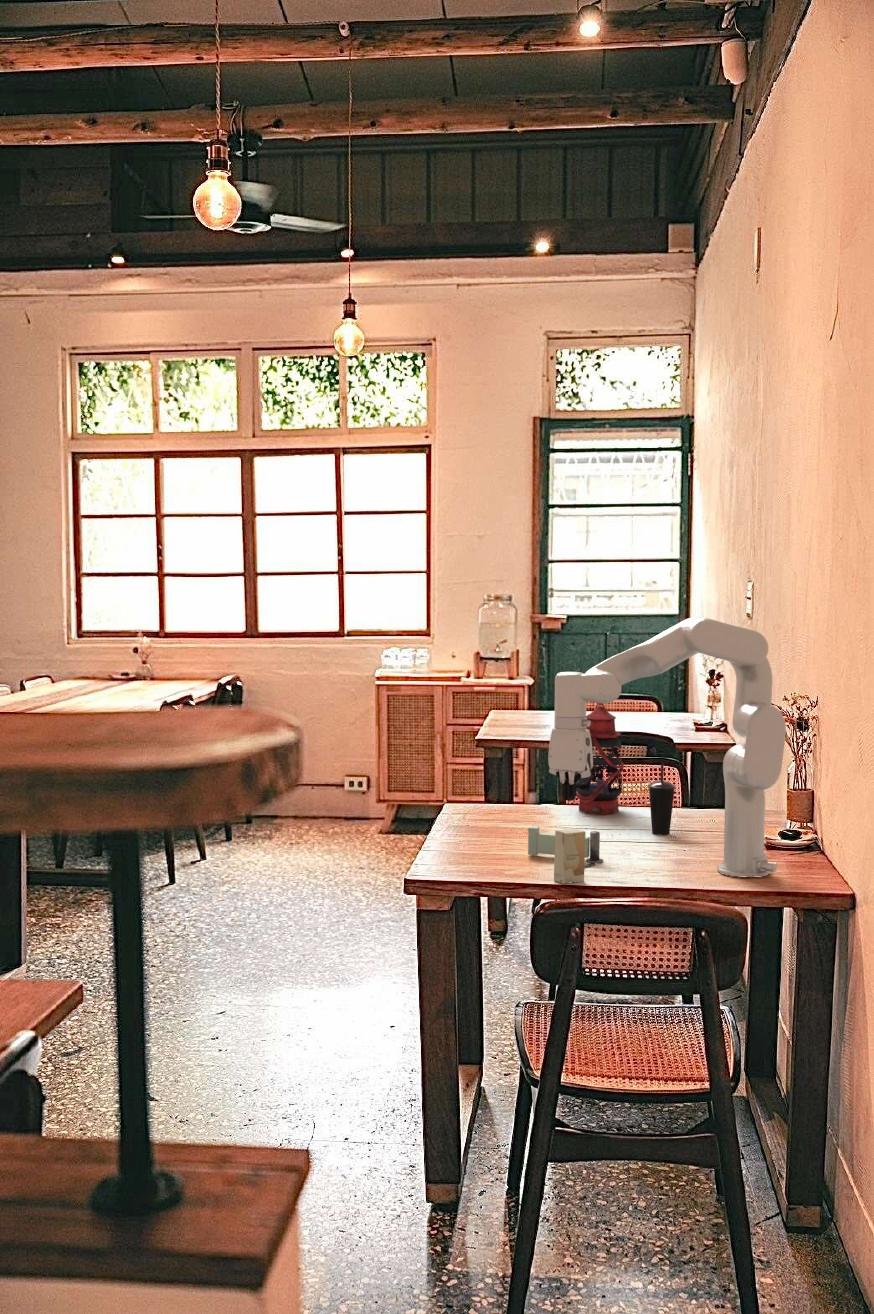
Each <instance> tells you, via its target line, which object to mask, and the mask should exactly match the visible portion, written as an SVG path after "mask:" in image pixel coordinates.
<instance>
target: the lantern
mask: <svg viewBox="0 0 874 1314" xmlns="http://www.w3.org/2000/svg"><path fill="white" fill-rule="evenodd" d="M586 717H587V720H589V721H591V725H590V726H587V728H586V730H589V731H590V736H591V742H592V747H593V748H592V752H593V753H594V755H595V756H594V755H593V767H592V769H591V770H590V773H591V776H589V777H585V778H581V779H580V780H579V782H578V783H577V794H576V798H577V800H579V804H578V812H580V811H582V812H581V813H583V812H584V813H583V814H586V813H587V814H588V815H599V816H607V815H615V814H616V813H617V812H618V811H619V801H618V800H619V796H621V794H622V792H623V775H622V773H623V772H624V771H625V769H624V767H625V765H624V764H625V763H623V760H622V759H623V755H622V753H620V751H619V750H622V747H623V746H622V742H621V741H620V739H619V736H621V732H618V731H616V723H615V722H616V721H615V720H616V718H617V717H616V716H615V715H613V714H612V713H610V712H609V711H608V710H607V709H606V706H605V705H604V703H596V705H595V707H594V710H593V711H592V712H590V713H589V714H586ZM594 748H595V751H596V750H597V751H598V752H599V753H595V752H594ZM604 750H605V751H606V752H607V754H606V752H605V751H604ZM605 770H606V776H607V778H606V780H605V776H604V772H603V771H605ZM580 773H582V772H580ZM614 783H616V785H617V784H618V785H617V786H618V787H616V786H614V787H612V785H613V784H614Z"/></svg>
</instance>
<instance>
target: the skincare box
mask: <svg viewBox="0 0 874 1314" xmlns="http://www.w3.org/2000/svg"><path fill="white" fill-rule="evenodd" d="M554 831H555V832H554V834H555V855H553V856H554V859H553V861H554V863H553V880H554V881H555V882H557V883H560V882H561V884H563V883H564V884H563V885H566V884H565V883H568V884H571V883H570V882H575V883H580V882H585V868H584V866H585V862H586V858H585V837H586V831H585V830H582V829H578V828H563V829H558V830H556V829H555V830H554Z"/></svg>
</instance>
